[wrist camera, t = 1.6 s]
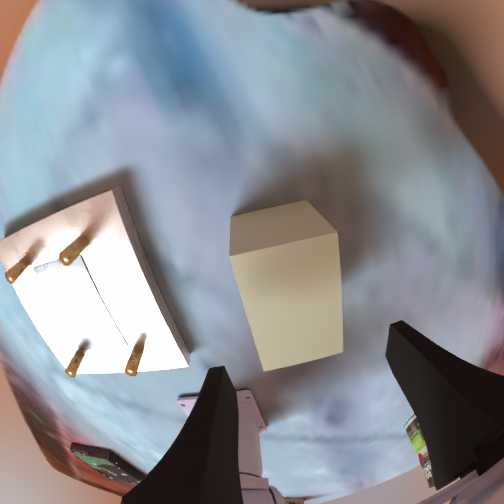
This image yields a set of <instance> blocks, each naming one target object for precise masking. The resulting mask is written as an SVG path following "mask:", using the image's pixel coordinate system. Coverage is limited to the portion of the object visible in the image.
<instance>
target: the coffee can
mask: <svg viewBox="0 0 504 504" xmlns="http://www.w3.org/2000/svg"><path fill="white" fill-rule="evenodd" d="M405 430H406V431H407V433H408V436H409V438H410V440H411V442H412V445H413V447H414V449H415V452H416V454H417V456H418V459H419V461H420V464H421V466H422V468H423V471H424V473H425V476H426V478H427V481H428V484H429V488H431V487H433V486H435V485H434V479H433V473H432V468H431V463H430V458H429V454H428V451H427V447H426V444H425V440H424V437H423V434H422V431H421V428H420V426H419V423H418V420H417V418H416V415H414V416H413V417H412V418H411V419H410V420H409V421H408V422H407V423H406V425H405Z"/></svg>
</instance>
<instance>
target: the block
mask: <svg viewBox="0 0 504 504" xmlns="http://www.w3.org/2000/svg"><path fill="white" fill-rule="evenodd" d="M229 257H230V260H231V264H232V267H233V271H234V274H235V278H236V281H237V285H238V288H239V291H240V295H241V298H242V302H243V305H244V308H245V312H246V315H247V318H248V322H249V325H250V328H251V332H252V335H253V338H254V342H255V345H256V348H257V351H258V355H259V358H260V361H261V364H262V367H263V371H269V370H274V369H279V368H283V367H288V366H292V365H296V364H301V363H305V362H309V361H313V360H317V359H321V358H324V357H328V356H332V355H335V354H339V353H342V352H343V309H342V285H341V268H340V254H339V242H338V232H337V231H336V230H335V229H334V228H333V227H332V226H331V225H330V224H329V223H328V222H327V221H326V220H325V218H324V217H323V216H322V215H321V214H320V213H319V212H318V211H317V210H316V209H315V208H314V207H313V206H312V205H311V204H310V203H309V202H308V201H307V200H304V201H299V202H294V203H289V204H285V205H280V206H275V207H271V208H266V209H262V210H257V211H253V212H249V213H244V214H240V215H236V216H231V221H230V254H229Z"/></svg>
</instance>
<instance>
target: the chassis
mask: <svg viewBox="0 0 504 504" xmlns="http://www.w3.org/2000/svg"><path fill="white" fill-rule="evenodd" d="M0 259H1V262H2V264H3V266H4V268H5V271H6V273H5V277H6V279H7V281H8V282H9V283H11V284H12V285H13V287H14V289H15V291H16V293H17V295H18V296H19V298H20V300H21V302H22V304H23V305H24V307H25V309H26V311H27V312H28V314H29V316H30V317H31V319H32V321H33V322H34V324H35V326H36V327H37V329H38V330H39V332H40V333H41V335H42V336H43V338H44V339H45V341H46V342H47V344H48V345H49V347H50V348H51V349H52V351H53V352H54V354H55V355H56V356H57V358H58V359H59V360H60V362H61V363H62V364H63V366H64V367H65V368H66V370H65V372H66V373H67V374H68V375H69V376H70V377H75V375H76V374H89V373H122V372H125V373H126V374H128V375H130V376H136V374H137V372H139V371H152V370H163V369H173V368H182V367H189V361H190V352H189V350H188V348H187V347H186V345H185V343H184V341H183V339H182V337H181V335H180V333H179V330H178V328H177V326H176V324H175V322H174V320H173V318H172V316H171V314H170V312H169V309H168V307H167V305H166V303H165V301H164V298H163V296H162V294H161V292H160V289H159V287H158V285H157V282H156V280H155V278H154V275H153V273H152V270H151V268H150V265H149V263H148V260H147V258H146V255H145V253H144V250H143V248H142V245H141V242H140V240H139V237H138V234H137V232H136V229H135V226H134V223H133V221H132V218H131V215H130V212H129V209H128V206H127V203H126V200H125V197H124V194H123V191H122V187H121V186H118V187H115V188H112V189H110V190H107V191H104V192H102V193H99V194H97V195H94V196H92V197H89V198H87V199H84V200H82V201H79V202H77V203H75V204H72V205H70V206H68V207H65V208H63V209H61V210H59V211H57V212H54V213H52V214H50V215H48V216H46V217H44V218H42V219H39V220H37V221H35V222H33V223H31V224H29V225H27V226H25V227H23V228H21V229H20V230H18V231H16V232H14V233H12V234H10V235H8V236H6V237H5V238H3V239H2V240H0Z"/></svg>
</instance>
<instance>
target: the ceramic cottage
mask: <svg viewBox="0 0 504 504" xmlns="http://www.w3.org/2000/svg"><path fill="white" fill-rule="evenodd" d="M284 500H285V504H304V499H302V498H296V499H295V498H294V499H293V498H288V499H286V498H284Z"/></svg>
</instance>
